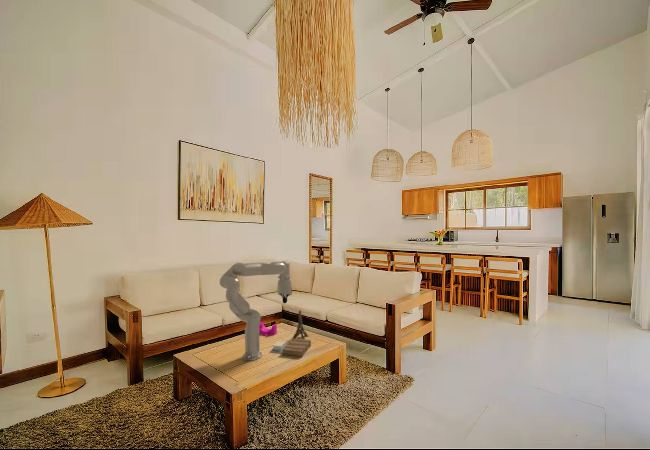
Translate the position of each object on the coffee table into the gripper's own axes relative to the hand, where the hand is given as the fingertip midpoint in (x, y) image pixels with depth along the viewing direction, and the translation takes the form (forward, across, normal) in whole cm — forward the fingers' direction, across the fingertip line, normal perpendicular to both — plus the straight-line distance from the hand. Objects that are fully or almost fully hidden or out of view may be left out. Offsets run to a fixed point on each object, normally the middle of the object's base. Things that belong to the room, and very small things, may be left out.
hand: (284, 302), depth 225 cm
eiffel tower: (+31, +6, +16) cm, 36 cm away
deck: (+31, +12, -7) cm, 34 cm away
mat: (+31, 0, -7) cm, 32 cm away
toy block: (+32, -23, +17) cm, 43 cm away
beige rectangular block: (+29, -1, -7) cm, 30 cm away
